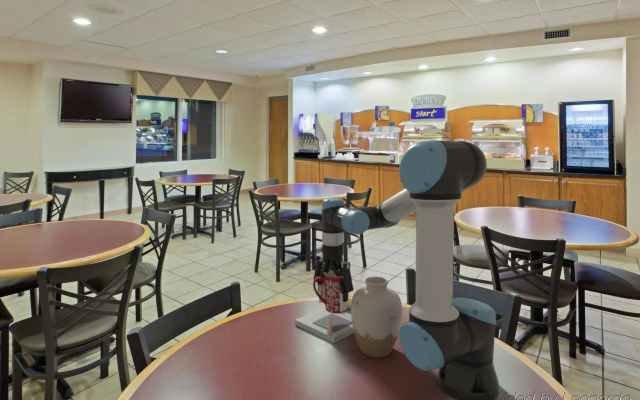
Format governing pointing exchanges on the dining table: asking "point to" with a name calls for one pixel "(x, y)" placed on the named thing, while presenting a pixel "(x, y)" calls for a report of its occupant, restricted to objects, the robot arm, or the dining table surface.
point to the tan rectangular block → (349, 304)
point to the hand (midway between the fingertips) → (332, 305)
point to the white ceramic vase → (376, 317)
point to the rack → (327, 324)
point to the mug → (330, 291)
